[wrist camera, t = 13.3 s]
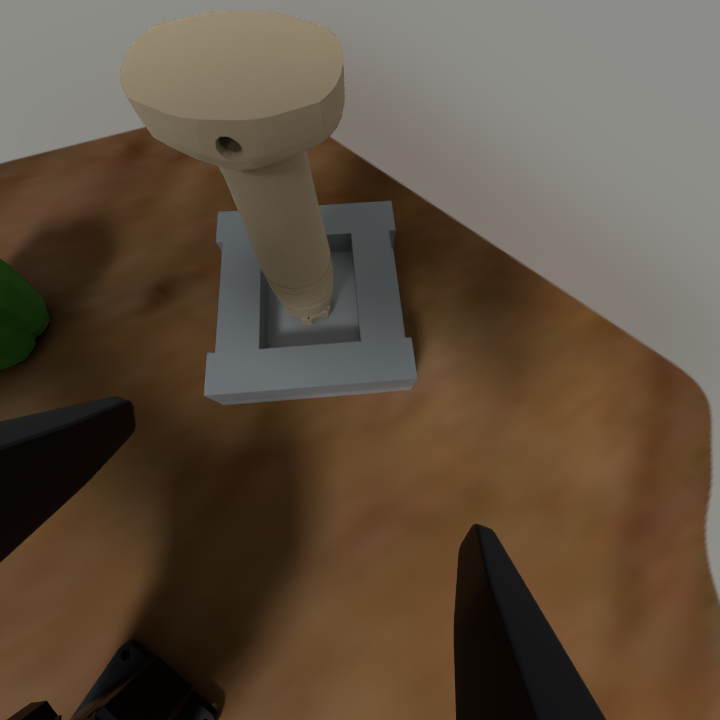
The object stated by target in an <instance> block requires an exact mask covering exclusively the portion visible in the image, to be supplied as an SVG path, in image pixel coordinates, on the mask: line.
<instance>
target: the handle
mask: <svg viewBox="0 0 720 720" xmlns="http://www.w3.org/2000/svg"><path fill="white" fill-rule="evenodd" d="M120 83H121V86H122V89H123V91H124V93H125V95H126V97H127V98H128V100H129V102H130V103H131V105H132V106H133V108H134V110H135V111H136V113H137V114H138V116H139V117H140V119H141V120H142V122H143V123H144V125H145V127H146V128H147V130H148V131H149V132H150V133H151V135H152V136H153V137H154V138H155V139H157V140H159V141H161V142H163V143H164V144H166V145H168V146H170V147H172V148H174V149H176V150H178V151H180V152H182V153H184V154H187V155H189V156H191V157H193V158H196V159H199V160H201V161H204V162H206V163H209V164H212V165H215V166H218V167H219V169H220V171H221V173H222V174H223V176H224V178H225V180H226V183H227V185H228V188H229V190H230V192H231V195H232V197H233V200H234V202H235V204H236V207H237V209H238V212H239V214H240V216H241V219H242V221H243V224H244V226H245V229H246V231H247V234H248V236H249V239H250V241H251V244H252V247H253V249H254V252H255V254H256V257H257V259H258V262H259V265H260V267H261V269H262V272H263V274H264V276H265V277H266V279H267V281H268V283H269V285H270V287H271V289H272V290H273V292H274V293H275V295H276V296H277V298H278V299H279V300H280V302H281V303H282V304H283V305H284V306H285V309H286V310H287V312H288V313H289V314H290V315H291V316H295V317H297V318H299V319H300V320H301V321H302V322H303V324H305V325H313V324H314V322H315V321H317V320H319V319H321V318H327V317H328V316H329V315H330V313H331V306H330V302H331V300H332V292H333V267H332V260H331V254H330V249H329V245H328V241H327V237H326V233H325V229H324V225H323V221H322V217H321V213H320V209H319V205H318V200H317V196H316V192H315V187H314V183H313V178H312V174H311V169H310V165H309V160H308V151H307V150H308V149H310V148H312V147H315V146H317V145H319V144H321V143H323V142H324V141H325V140H326V139H327V138H328V137H330V135H331V134H332V133H333V132H334V130H335V129H336V128H337V126H338V124H339V122H340V120H341V117H342V112H343V107H344V67H343V51H342V48H341V44H340V42H339V40H338V39H337V37H336V36H335V34H334V33H333V32H332V31H331V30H330V29H329V28H327V27H324V26H321V25H317V24H315V23H312V22H308V21H306V20H302V19H299V18H296V17H293V16H289V15H285V14H280V13H273V12H255V11H221V12H210V13H204V14H198V15H195V16H190V17H186V18H182V19H178V20H174V21H170V22H166V23H162V24H158V25H155V26H154V27H153V28H151V29H149V30H148V31H146V32H145V33H144V34H143V35H141V36H140V37H139V38H138V39H137V40H136V41H135V43H134V44H133V45H132V46H131V48H130V49H129V51H128V53H127V54H126V56H125V58H124V61H123V64H122V67H121V71H120Z"/></svg>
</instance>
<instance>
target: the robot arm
mask: <svg viewBox="0 0 720 720" xmlns="http://www.w3.org/2000/svg"><path fill="white" fill-rule="evenodd" d="M135 427H136V422H135V413H134V406H133V403H132V402H131V401H129V400H126V399H124V398H121V397H109V398H105V399H100V400H96V401H91V402H87V403H82V404H78V405H73V406H69V407H64V408H60V409H55V410H50V411H46V412H41V413H37V414H32V415H28V416H23V417H19V418H14V419H10V420H5V421H1V422H0V562H1V561H3V560H4V559H5V558H6V557H7V556H8V555H9V554H10V553H11V552H12V551H13V550H15V549H16V548H17V547H18V546H19V545H20V544H21V543H22V542H23V541H24V540H25V539H27V538H28V537H29V536H30V535H31V534H32V533H33V532H34V531H35V530H36V529H37V528H39V527H40V526H41V525H42V524H43V523H44V522H45V521H46V520H47V519H48V518H50V517H51V516H52V515H53V514H54V513H55V512H56V511H57V510H58V509H59V508H60V507H62V506H63V505H64V504H65V503H66V502H67V501H68V500H69V499H70V498H71V497H72V496H74V495H75V494H76V493H77V492H78V491H79V490H80V489H81V488H82V487H83V486H84V485H85V484H86V483H87V482H88V481H89V480H90V479H91V478H92V477H93V476H94V475H95V474H96V473H97V472H98V471H99V470H100V469H101V467H102V466H103V465H104V464H105V463H106V462H107V461H108V460H109V459H110V458H111V457H112V456H113V455H114V453H115V452H116V451H117V450H118V449H119V448H120V447H121V446H122V445H123V444H124V443H125V442H126V440H127V439H128V438H129V437H130V436H131V435H132V434H133V432H134V430H135ZM127 649H129V650H130V652H131V655H130V657H129V656H127V654H126V650H127ZM454 665H455V698H456V720H606V718H605V717H604V715H603V713H602V712H601V710H600V708H599V707H598V705H597V703H596V702H595V700H594V698H593V697H592V695H591V693H590V692H589V690H588V688H587V687H586V685H585V683H584V681H583V680H582V678H581V676H580V675H579V673H578V671H577V670H576V668H575V666H574V665H573V663H572V661H571V660H570V658H569V656H568V655H567V653H566V651H565V650H564V648H563V646H562V645H561V643H560V641H559V640H558V638H557V636H556V635H555V633H554V631H553V630H552V628H551V626H550V624H549V623H548V621H547V619H546V618H545V616H544V614H543V613H542V611H541V609H540V608H539V606H538V604H537V603H536V601H535V599H534V598H533V596H532V594H531V593H530V591H529V589H528V588H527V586H526V584H525V583H524V581H523V579H522V578H521V576H520V574H519V573H518V571H517V569H516V567H515V566H514V564H513V562H512V561H511V559H510V557H509V556H508V554H507V552H506V551H505V549H504V547H503V546H502V544H501V542H500V541H499V539H498V537H497V536H496V534H495V532H494V531H493V530H492V529H490V528H487V527H485V526H482V525H479V524H474V525H473V526H472V527H471V528H470V530H469V532H468V533H467V535H466V537H465V538H464V540H463V542H462V543H461V546H460V549H459V555H458V569H457V583H456V598H455V612H454ZM61 717H62V715H59V716H58V715H57V714H56V713H55V711H54V710H53V709H52V707H51V706H50V705H49V703H48V702H47V701H42V702H35V703H30V704H29V705H27V706H26V707H24V708H23V709H21V710H20V711H19V712H17V713H16V714H14V715H13V716H12V717H10V718H9V719H7V720H61ZM204 719H208V720H218V713H217V711H216V710H215V708H213V707H212V706H211V705H210V704H209V703H208V702H207V701H205V700H204V699H203V698H202V697H201V696H200V695H199V694H197V693H196V692H195V691H194V690H193V689H192V686H191V685H190V684H189V683H188V682H187V681H186V680H184V679H183V678H182V677H181V676H180V675H179V674H178V673H176V672H175V671H174V670H173V669H172V668H171V667H169V666H168V665H167V664H166V663H165V662H164V661H163V660H161V659H160V658H159V657H155V656H154V655H153V654H151V653H150V652H149V651H148V650H147V649H146V648H144V647H143V646H142V645H141V644H140V643H139V642H138V641H136V640H130V641H128V642H126V643H125V644H124V645H122V646H121V647H120V648H119V650H118V651H117V653H116V654H115V655H114V657H113V658H112V660H111V661H110V663H109V664H108V666H107V667H106V669H105V670H104V671H103V673H102V674H101V676H100V677H99V679H98V680H97V682H96V683H95V685H94V686H93V687H92V689H91V690H90V692H89V693H88V695H87V696H86V698H85V699H84V701H83V702H82V703H81V705H80V706H79V708H78V709H77V711H76V712H75V714H74V715H73V717H72V718H71V719H70V720H204Z"/></svg>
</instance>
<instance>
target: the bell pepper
mask: <svg viewBox="0 0 720 720" xmlns="http://www.w3.org/2000/svg"><path fill="white" fill-rule="evenodd" d="M49 321H50V318H49V315H48V311H47V308H46V305H45V302H44V299H43V297H42V296H41V295H40V294H39V293H38V292H37V291H36V290H35V289H34V288H33V287H32V285H31V284H30V283H28V282H27V281H26V280H25V279H24V278H23V277H22V276H21V275H20V274H19V273H17V272H16V271H15V270H14V269H13V268H12V267H11V266H10V265H8V264H7V263H6V262H4V261H3V260H1V259H0V370H2V369H6V368H9V367H11V366H13V365H15V364H17V363H19V362H21V361H23V360H25V359H27V358H28V356H29V355H30V353H31V352H32V350H33V348H34V347H35V338H36V337H37V336H39V335H40V334H42V333H43V332H44V330H45V328H46V327H47V325H48V323H49Z"/></svg>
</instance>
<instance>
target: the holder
mask: <svg viewBox="0 0 720 720" xmlns="http://www.w3.org/2000/svg"><path fill="white" fill-rule="evenodd" d="M319 209H320V213H321V217H322V221H323V225H324V229H325V233H326V237H327V241H328V245H329V249H330V254H331V260H332V267H333V292H332V300H331V302H330V306H331V313H330V315H329V316H328V317H327V318H321V319H319V320H317V321H315V322H314V324H313V325H305V324H303V322H302V321H301V320H300V319H299V318H297V317H295V316H291V315H290V314H289V313H288V312H287V310H286V309H285V306H284V305H283V304H282V303H281V302H280V300H279V299H278V298H277V296H276V295H275V293H274V292H273V290H272V289H271V287H270V285H269V283H268V281H267V279H266V277H265V276H264V274H263V272H262V269H261V267H260V265H259V262H258V259H257V257H256V254H255V252H254V249H253V247H252V244H251V241H250V239H249V236H248V234H247V231H246V229H245V226H244V224H243V221H242V219H241V216H240V214H239V212H238V211H226V212H218V220H217V233H216V244H217V245H218V247H219V248H220V250H221V251H222V261H221V275H220V289H219V304H218V318H217V333H216V347H215V353H207V362H206V374H205V387H204V396H206V397H208V398H210V399H212V400H214V401H216V402H218V403H220V404H222V405H233V404H245V403H257V402H270V401H282V400H294V399H307V398H319V397H331V396H344V395H356V394H368V393H381V392H393V391H405V390H411V388H412V386H413V385H414V383H415V382H416V380H417V372H416V365H415V359H414V352H413V345H412V338H411V337H409V338H406V337H405V330H404V323H403V315H402V308H401V301H400V294H399V287H398V280H397V273H396V265H395V258H394V251H393V245H394V238H395V232H396V229H395V222H394V215H393V208H392V201H378V202H362V203H347V204H332V205H319Z"/></svg>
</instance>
